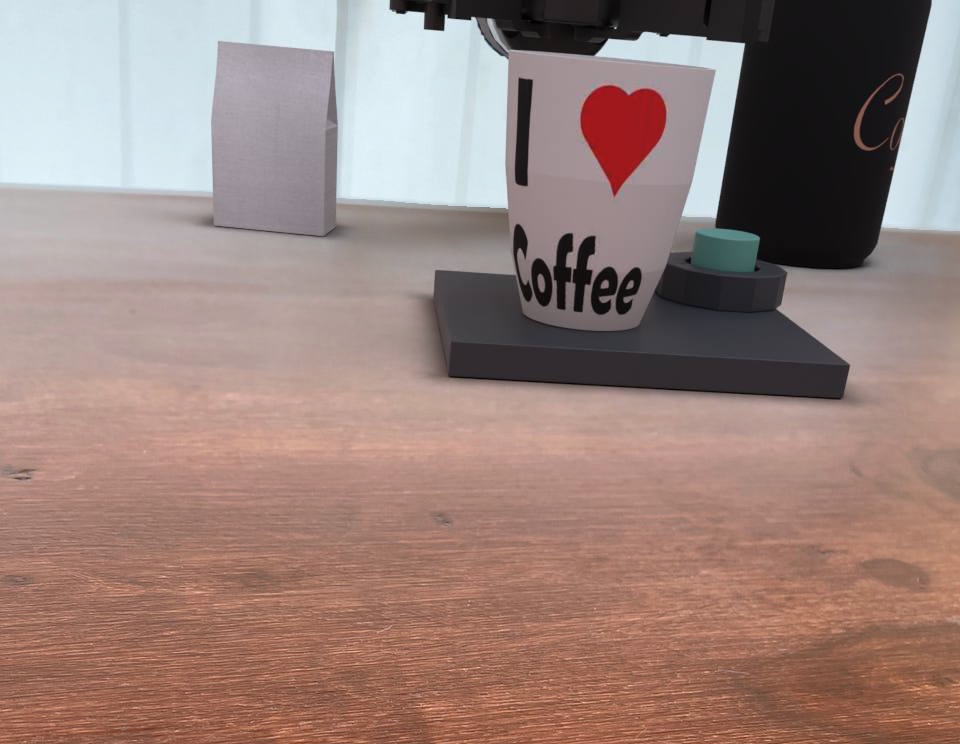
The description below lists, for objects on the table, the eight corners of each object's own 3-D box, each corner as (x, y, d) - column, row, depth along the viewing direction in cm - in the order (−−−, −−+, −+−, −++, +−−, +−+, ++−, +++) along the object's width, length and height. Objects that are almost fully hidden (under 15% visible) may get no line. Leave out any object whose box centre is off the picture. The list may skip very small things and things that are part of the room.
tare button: (743, 267, 58) (749, 230, 57) (760, 280, 55) (768, 241, 54) (683, 263, 58) (689, 226, 57) (698, 276, 55) (704, 237, 54)
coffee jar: (850, 277, 73) (924, -59, 65) (688, 250, 78) (738, -69, 69) (889, 257, 82) (959, -43, 73) (741, 233, 86) (791, -53, 78)
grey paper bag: (323, 236, 72) (326, 52, 67) (213, 225, 72) (209, 41, 67) (335, 227, 75) (339, 50, 70) (230, 216, 75) (227, 40, 70)
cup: (455, 316, 49) (474, 47, 44) (532, 287, 56) (555, 50, 51) (640, 351, 46) (681, 68, 42) (698, 316, 53) (739, 69, 48)
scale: (753, 317, 61) (765, 256, 59) (853, 399, 48) (871, 324, 46) (432, 296, 59) (436, 233, 57) (448, 376, 46) (453, 298, 45)
